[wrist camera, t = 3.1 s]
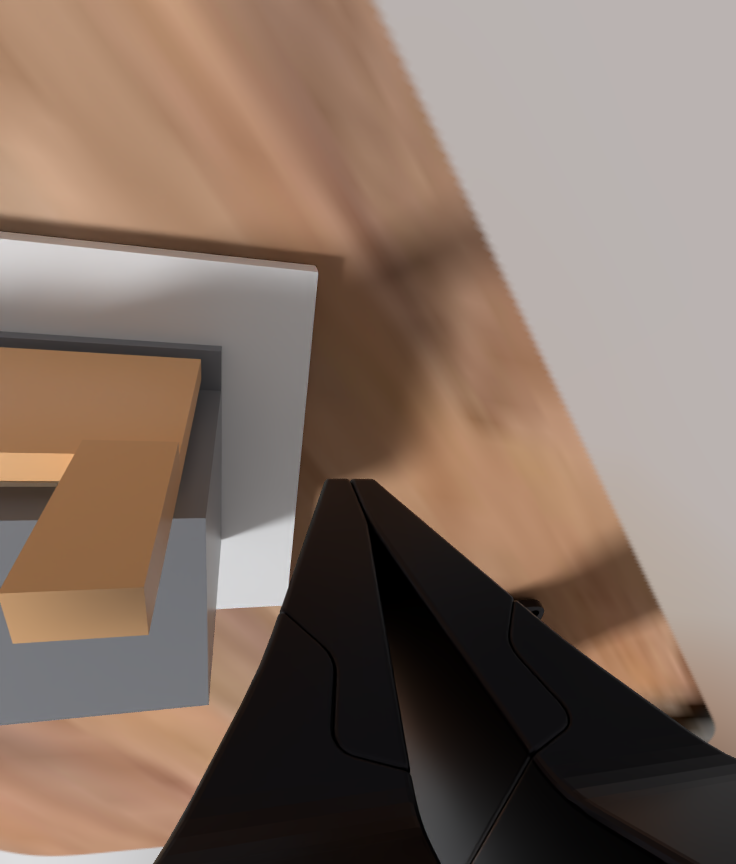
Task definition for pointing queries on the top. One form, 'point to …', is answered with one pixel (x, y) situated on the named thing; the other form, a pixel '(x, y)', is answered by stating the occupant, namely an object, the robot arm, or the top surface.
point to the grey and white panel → (204, 462)
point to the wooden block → (93, 485)
